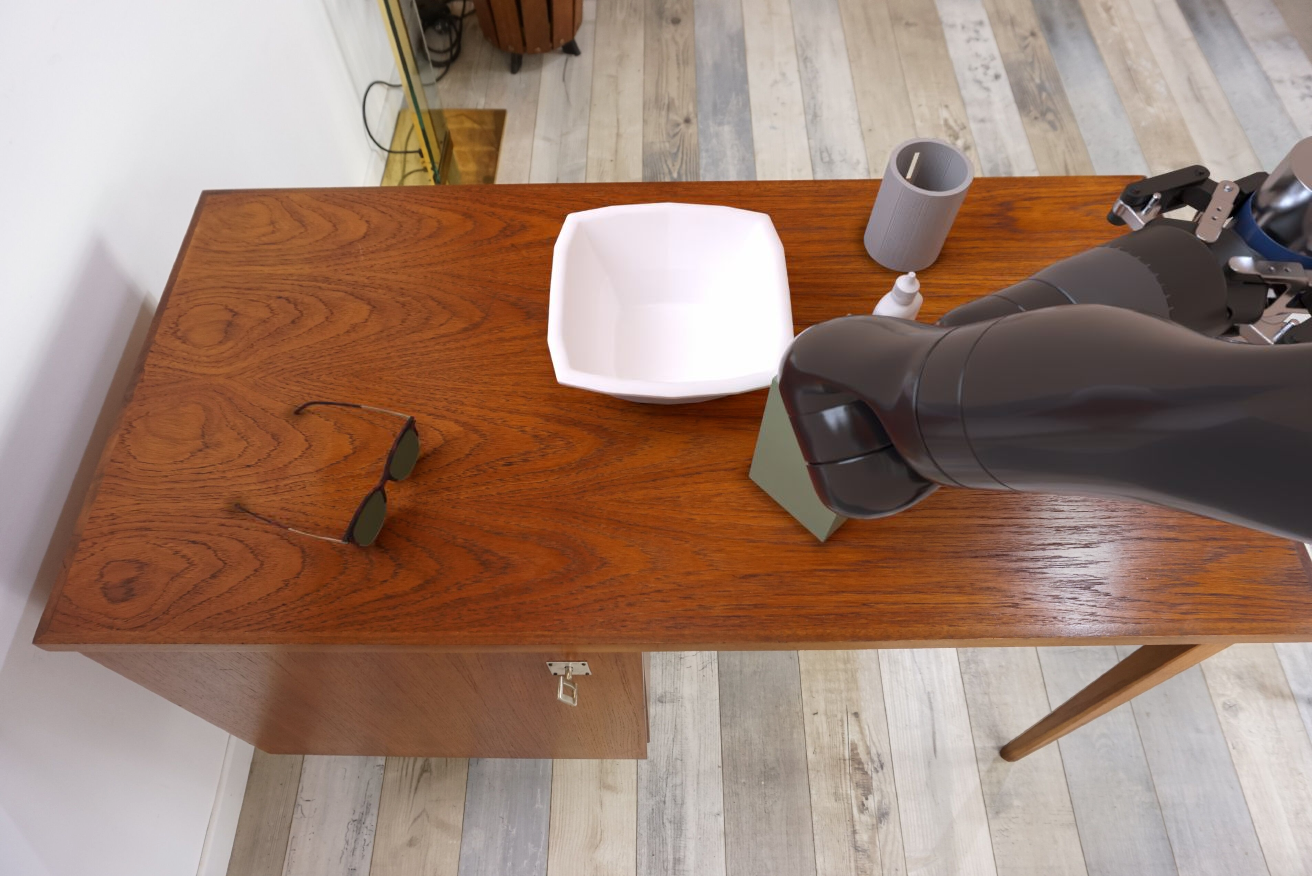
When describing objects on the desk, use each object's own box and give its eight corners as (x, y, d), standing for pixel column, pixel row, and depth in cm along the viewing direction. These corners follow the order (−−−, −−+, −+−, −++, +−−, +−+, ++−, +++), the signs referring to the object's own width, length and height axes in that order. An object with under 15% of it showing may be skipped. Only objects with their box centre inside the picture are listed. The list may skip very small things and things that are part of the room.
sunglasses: (363, 563, 78) (342, 541, 73) (233, 524, 81) (206, 501, 76) (428, 439, 84) (413, 413, 80) (306, 407, 88) (285, 381, 83)
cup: (898, 283, 96) (930, 208, 85) (848, 235, 99) (872, 157, 89) (954, 251, 98) (991, 175, 88) (903, 206, 102) (933, 127, 92)
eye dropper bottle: (910, 359, 90) (945, 289, 80) (861, 364, 90) (890, 293, 79) (900, 328, 92) (933, 255, 82) (852, 332, 92) (879, 260, 82)
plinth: (886, 480, 83) (942, 382, 67) (822, 542, 79) (866, 455, 64) (812, 419, 86) (849, 312, 71) (748, 476, 83) (772, 378, 67)
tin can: (1290, 320, 55) (1440, 183, 44) (1232, 365, 53) (1373, 233, 43) (1209, 260, 58) (1332, 118, 47) (1150, 301, 56) (1265, 162, 45)
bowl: (553, 449, 84) (542, 395, 75) (564, 265, 96) (556, 200, 88) (785, 448, 84) (802, 395, 75) (767, 265, 97) (779, 201, 88)
